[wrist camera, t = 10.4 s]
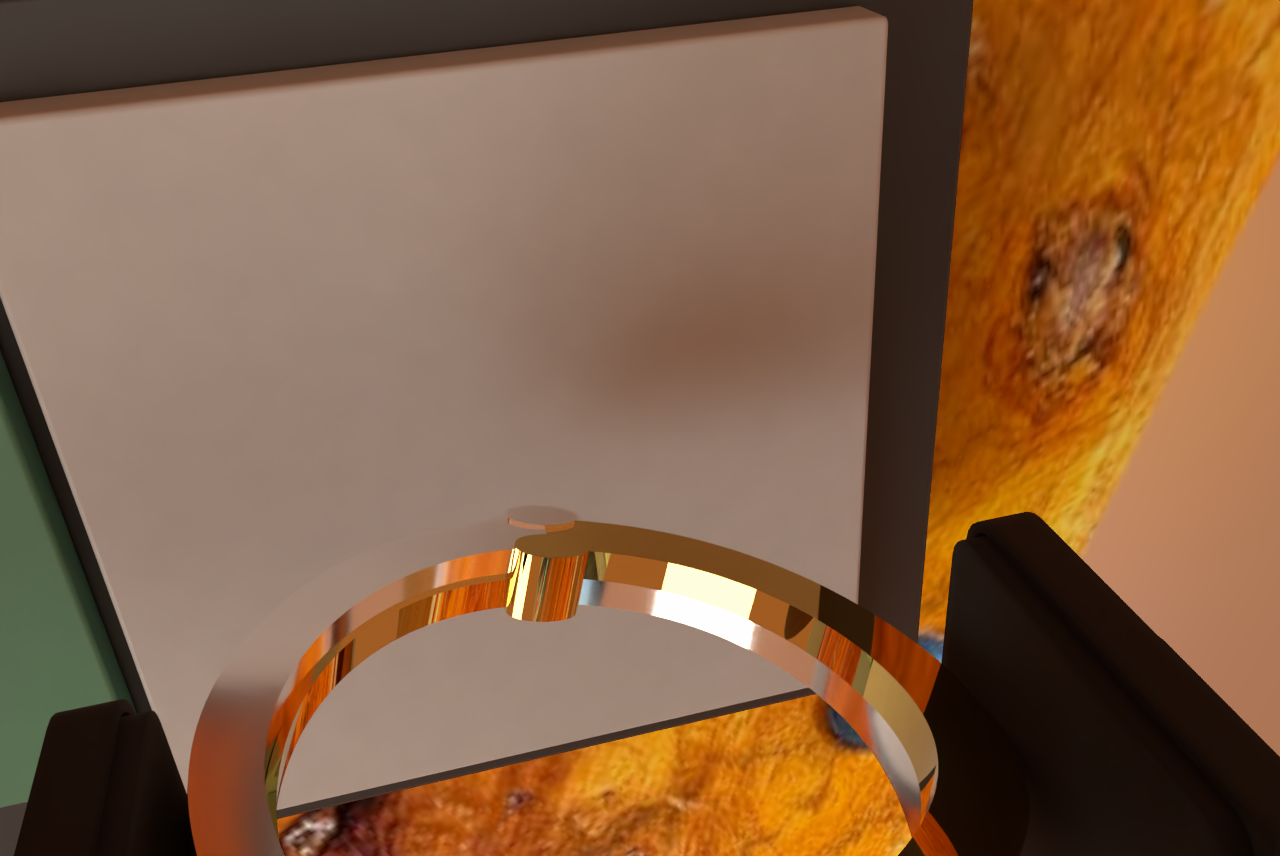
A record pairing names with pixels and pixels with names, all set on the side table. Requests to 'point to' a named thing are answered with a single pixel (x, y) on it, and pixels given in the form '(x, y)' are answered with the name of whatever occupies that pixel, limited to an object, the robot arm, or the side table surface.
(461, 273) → the scale
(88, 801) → the robot arm
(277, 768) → the ring
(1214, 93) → the side table surface
